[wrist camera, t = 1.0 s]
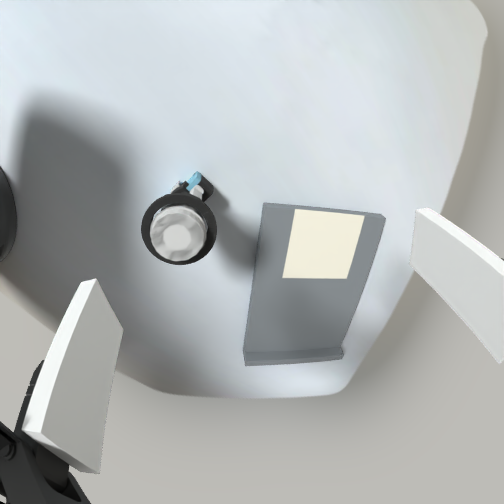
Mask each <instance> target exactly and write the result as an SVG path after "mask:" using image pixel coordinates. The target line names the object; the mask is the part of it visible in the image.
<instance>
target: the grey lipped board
mask: <svg viewBox="0 0 504 504" xmlns="http://www.w3.org/2000/svg"><path fill="white" fill-rule="evenodd" d="M385 220H386V218H385V217H384V216H382V215H381V214H375V213H367V212H358V211H349V210H340V209H330V208H320V207H310V206H298V205H286V204H274V203H263V210H262V217H261V225H260V232H259V239H258V246H257V254H256V261H255V268H254V275H253V282H252V290H251V297H250V304H249V311H248V318H247V325H246V332H245V339H244V346H243V354H244V361H245V366H257V365H280V364H296V363H309V362H320V361H330V360H339V359H342V358H343V356H344V354H343V352H342V350H341V347H340V346H341V344H342V342H343V339H344V337H345V334H346V332H347V330H348V327H349V325H350V322H351V320H352V317H353V315H354V312H355V310H356V307H357V304H358V302H359V299H360V296H361V294H362V291H363V288H364V285H365V282H366V280H367V277H368V274H369V271H370V268H371V265H372V262H373V259H374V256H375V253H376V250H377V246H378V243H379V240H380V237H381V233H382V230H383V227H384V223H385Z"/></svg>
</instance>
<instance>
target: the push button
mask: <svg viewBox="0 0 504 504" xmlns="http://www.w3.org/2000/svg"><path fill="white" fill-rule="evenodd" d="M179 182H180V181H178V182H177V184H176V185H175V186H174V187H173V188H172V190H171V192H170V193H171V194H167V195H165V196H163V197H161V198H159V199H157V200H156V201H154V202H153V203H152V204H151V205H150V207H149V208H148V209H147V211H146V213H145V215H144V217H143V220H142V225H141V233H142V238H143V241H144V243H145V245H146V247H147V248H148V250H149V251H150V252H151V253H152V254H153V255H154V256H155V257H157V258H158V259H160V260H162V261H164V262H166V263H170V264H175V265H186V264H191V263H194V262H196V261H198V260H200V259H202V258H203V257H204V256H206V255H207V254H208V253H209V251H210V250H211V249H212V247H213V245H214V243H215V240H216V235H217V226H216V221H215V217H214V215H213V213H212V211H211V210H210V208H209V207H208V206H207V205H206V204H205V203H204V202H205V201H206V200H207V199H208V198H209V197H210V196H211V195H212V193H213V185H212V184H211V183H210V182H208V181H207V180H206V179H205V178H204V177H203V176H202V175H201V174H200V173H199V172H198V171H197V172H196V173H195V174H194V175H193V176H192V177H191V178H190V179H189V180H188V181H187V182H186V181H185V182H184V183H183V184H182V185H181V186H180V185H179ZM160 208H162V209H161V211H160V212H159V213H158V214H157V215H156V216H155V218H154V220H153V216H154V214H155V213H156V212H157V211H158V210H159V209H160ZM203 216H204V218H205V220H206V222H207V225H208V229H207V232H206V226H205V224H204V220H203Z"/></svg>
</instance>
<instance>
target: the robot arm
mask: <svg viewBox="0 0 504 504" xmlns="http://www.w3.org/2000/svg"><path fill="white" fill-rule="evenodd" d="M16 226H17V220H16V209H15V203H14V199H13V195H12V192H11V189H10V186H9V184H8V181H7V179H6V177H5V175H4V173H3V172H2V170H1V169H0V262H1V261H2V260H3V259H4V257H5V256H6V255H7V254H8V253H9V252H10V250H11V248H12V246H13V243H14V240H15V235H16ZM409 265H410V266H411V267H412V268H413V269H414V270H415V271H416V272H417V273H418V274H419V275H420V276H421V277H422V278H423V279H424V280H425V281H426V282H427V283H428V284H429V285H430V286H431V287H432V288H433V289H434V290H435V291H436V292H437V293H438V294H439V295H440V296H441V297H442V298H443V299H444V301H446V303H447V304H448V305H449V306H450V307H451V308H452V309H453V310H454V311H455V312H456V314H457V315H458V316H459V317H460V318H461V319H462V320H463V321H464V322H465V324H466V325H467V326H468V327H469V328H470V329H471V331H472V332H473V333H474V334H475V335H476V336H477V337H478V339H479V340H480V341H481V342H482V344H483V345H484V346H485V347H486V348H487V350H488V351H489V352H490V353H491V355H492V356H493V357H494V358H495V360H496V361H497V362H498V363H499V364H500V363H501V362H503V361H504V259H502V258H500V257H498V256H497V255H495V254H494V253H493V252H491V251H490V250H489V249H488V248H486V247H485V246H484V245H482V244H481V243H480V242H478V241H477V240H476V239H474V238H473V237H472V236H470V235H469V234H467V233H466V232H464V231H463V230H462V229H460V228H459V227H457V226H456V225H454V224H453V223H452V222H450V221H449V220H447V219H445V218H444V217H443V216H441V215H439V214H438V213H436V212H435V211H433V210H432V209H430V208H429V207H428V208H423V209H418V210H416V211H415V222H414V232H413V240H412V248H411V255H410V262H409ZM123 331H124V329H123V328H122V326H121V324H120V322H119V321H118V319H117V317H116V315H115V313H114V311H113V310H112V308H111V306H110V304H109V302H108V300H107V298H106V296H105V294H104V292H103V290H102V288H101V286H100V284H99V282H98V280H97V278H96V279H92V280H88V281H83V282H81V283H80V285H79V287H78V289H77V291H76V293H75V295H74V297H73V299H72V301H71V303H70V305H69V307H68V309H67V311H66V313H65V315H64V317H63V319H62V322H61V324H60V326H59V328H58V330H57V333H56V335H55V337H54V339H53V342H52V344H51V347H50V349H49V351H48V354H47V356H46V359H45V360H42V362H41V363H40V364H39V366H38V367H37V368H36V370H35V371H34V373H33V376H32V378H31V381H30V386H28V389H27V392H26V395H27V396H25V398H24V401H23V404H22V407H21V410H20V413H19V417H18V420H17V423H16V427H15V430H14V433H13V432H12V431H11V430H10V429H9V428H7V427H6V426H5V425H4V424H3V423H2V422H0V494H1V495H3V496H4V497H6V501H7V502H6V504H91V503H90V501H89V500H88V499H87V497H86V496H85V494H84V492H83V491H82V489H81V487H80V486H79V484H78V482H77V481H76V479H75V478H74V476H73V475H72V474H71V473H70V472H68V471H69V465H70V466H72V467H74V468H75V469H77V470H78V471H80V472H86V473H94V474H100V466H101V455H102V446H103V438H104V430H105V423H106V417H107V410H108V404H109V398H110V392H111V387H112V382H113V376H114V372H115V367H116V362H117V357H118V353H119V348H120V344H121V340H122V335H123ZM0 504H5V503H3V502H1V501H0Z"/></svg>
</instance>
